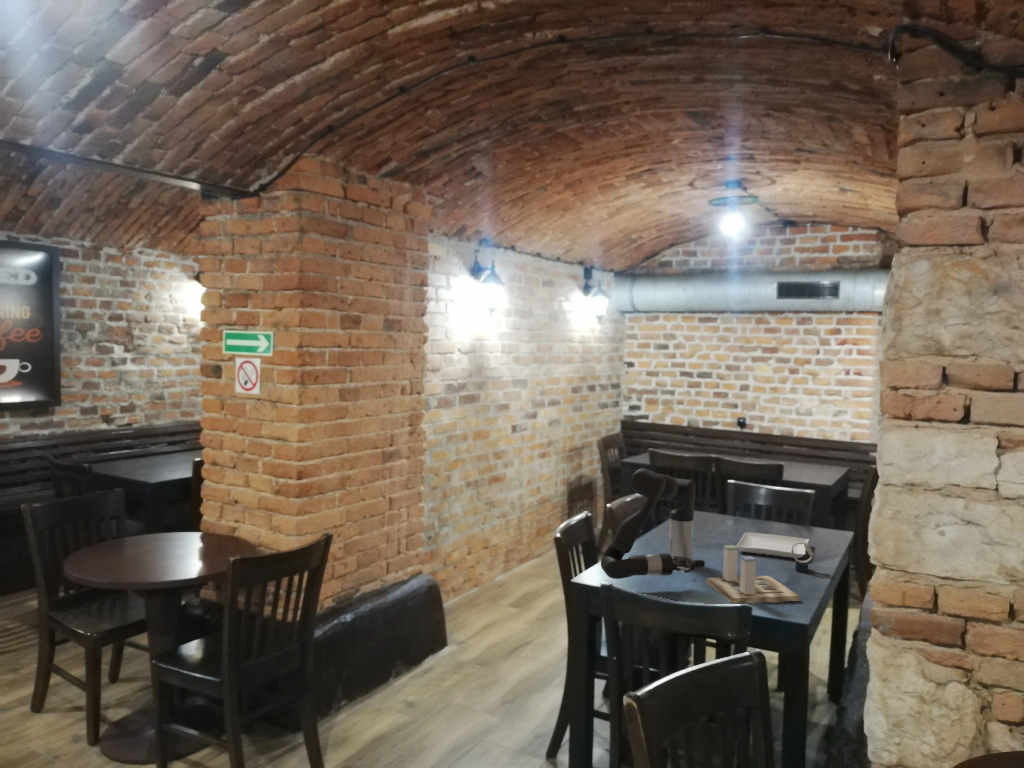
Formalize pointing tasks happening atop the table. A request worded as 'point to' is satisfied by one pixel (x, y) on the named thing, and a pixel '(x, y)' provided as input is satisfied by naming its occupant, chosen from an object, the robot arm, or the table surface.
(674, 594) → the table surface
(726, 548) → the tall beige block
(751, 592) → the near switch
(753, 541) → the square plate
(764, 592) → the switch board
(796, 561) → the watch
